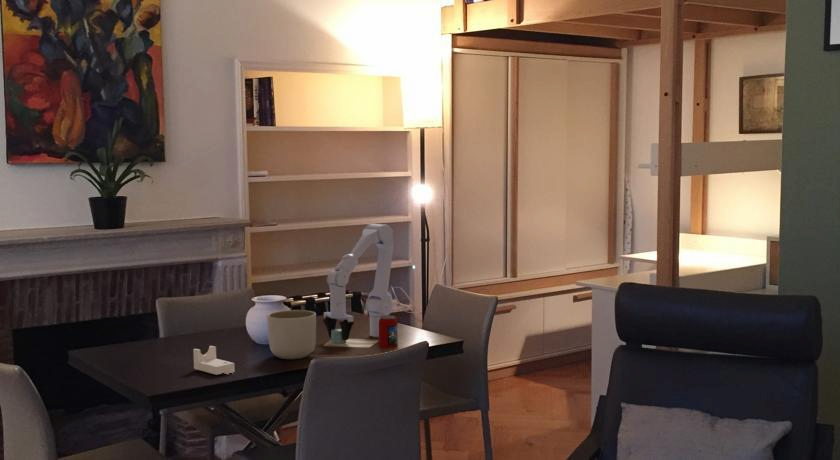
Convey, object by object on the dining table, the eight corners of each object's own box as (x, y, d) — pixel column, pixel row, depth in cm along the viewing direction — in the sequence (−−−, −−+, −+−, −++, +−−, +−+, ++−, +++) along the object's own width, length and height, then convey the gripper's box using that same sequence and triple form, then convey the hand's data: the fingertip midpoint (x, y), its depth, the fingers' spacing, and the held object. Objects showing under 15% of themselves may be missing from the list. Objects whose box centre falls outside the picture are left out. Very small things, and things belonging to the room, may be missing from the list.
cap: (328, 342, 354) (328, 330, 354) (339, 340, 358) (339, 328, 358) (338, 344, 351) (337, 332, 350) (349, 342, 355) (349, 330, 354)
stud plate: (334, 341, 362) (334, 330, 362) (380, 343, 358) (380, 332, 358) (322, 348, 349) (322, 337, 348) (369, 350, 344) (369, 339, 344)
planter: (280, 364, 325) (279, 320, 324) (260, 355, 339) (259, 313, 338) (325, 357, 334) (324, 315, 333) (304, 349, 348) (303, 308, 347)
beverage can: (395, 351, 343) (394, 318, 342) (377, 350, 344) (376, 318, 343) (399, 347, 349) (399, 315, 348) (381, 347, 351) (381, 314, 350)
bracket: (194, 371, 317) (193, 349, 317) (212, 367, 323) (211, 345, 322) (216, 377, 308) (215, 354, 308) (234, 373, 314) (234, 351, 313)
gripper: (317, 301, 355) (317, 337, 357) (342, 305, 345) (343, 342, 346) (331, 299, 360) (332, 334, 362) (357, 303, 350) (357, 339, 352)
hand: (338, 338), depth 354 cm, fingers open, 7 cm apart
